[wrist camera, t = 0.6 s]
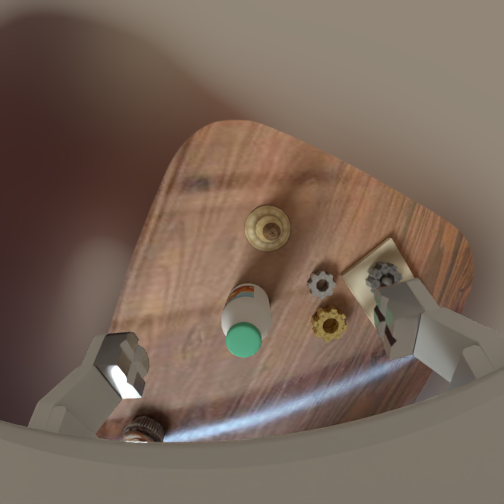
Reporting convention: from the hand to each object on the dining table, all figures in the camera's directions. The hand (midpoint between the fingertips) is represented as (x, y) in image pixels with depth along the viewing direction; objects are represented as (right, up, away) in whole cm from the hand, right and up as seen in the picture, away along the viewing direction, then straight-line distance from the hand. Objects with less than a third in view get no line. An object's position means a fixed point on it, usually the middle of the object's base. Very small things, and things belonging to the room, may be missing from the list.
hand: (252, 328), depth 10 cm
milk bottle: (-1, -7, +49) cm, 50 cm away
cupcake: (-24, -39, +53) cm, 70 cm away
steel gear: (+24, -2, +46) cm, 52 cm away
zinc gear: (+13, -3, +48) cm, 50 cm away
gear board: (+27, -6, +48) cm, 55 cm away
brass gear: (+14, -11, +49) cm, 52 cm away
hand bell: (+3, +7, +48) cm, 48 cm away
